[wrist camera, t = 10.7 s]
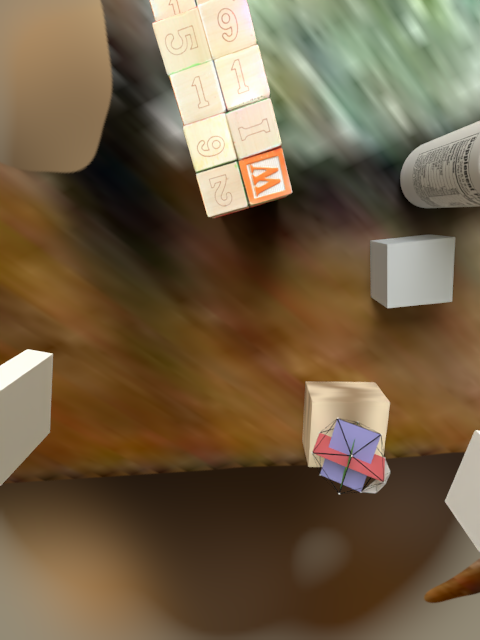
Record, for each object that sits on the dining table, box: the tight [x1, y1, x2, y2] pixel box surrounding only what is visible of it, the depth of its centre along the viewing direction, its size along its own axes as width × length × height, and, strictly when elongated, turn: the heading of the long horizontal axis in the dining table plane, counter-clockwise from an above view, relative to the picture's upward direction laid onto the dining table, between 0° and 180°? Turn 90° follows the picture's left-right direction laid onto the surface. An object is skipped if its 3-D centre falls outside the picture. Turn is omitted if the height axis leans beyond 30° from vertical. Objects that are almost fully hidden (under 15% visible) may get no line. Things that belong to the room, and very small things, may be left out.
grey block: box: [370, 234, 455, 308], centre depth 36 cm, size 6×6×5 cm
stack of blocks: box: [149, 0, 292, 218], centre depth 28 cm, size 21×6×12 cm, turn 15°
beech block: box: [302, 382, 390, 467], centre depth 41 cm, size 8×8×5 cm
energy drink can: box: [400, 121, 480, 208], centre depth 28 cm, size 6×6×15 cm
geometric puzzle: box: [311, 418, 391, 494], centre depth 35 cm, size 7×7×8 cm
